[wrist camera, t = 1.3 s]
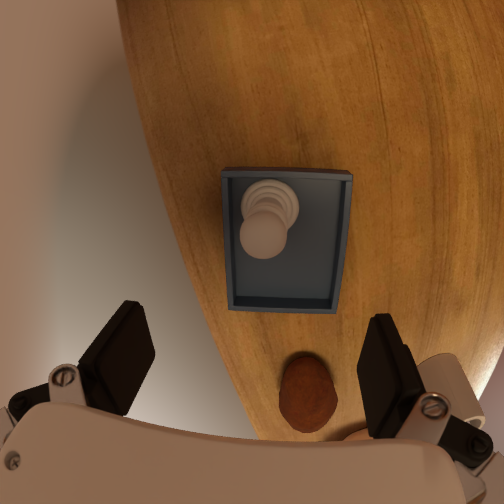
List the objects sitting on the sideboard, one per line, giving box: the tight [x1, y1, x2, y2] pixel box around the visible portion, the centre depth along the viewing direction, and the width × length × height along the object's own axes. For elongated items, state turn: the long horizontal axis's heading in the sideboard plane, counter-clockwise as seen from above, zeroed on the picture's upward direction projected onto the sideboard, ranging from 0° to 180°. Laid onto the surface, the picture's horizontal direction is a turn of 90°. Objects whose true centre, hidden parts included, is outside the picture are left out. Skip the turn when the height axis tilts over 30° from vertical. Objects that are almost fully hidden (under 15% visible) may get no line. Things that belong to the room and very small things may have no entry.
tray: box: [221, 167, 353, 314], centre depth 28 cm, size 14×11×2 cm
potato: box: [279, 357, 338, 433], centre depth 33 cm, size 8×12×8 cm, turn 11°
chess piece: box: [240, 179, 299, 259], centre depth 23 cm, size 5×5×9 cm
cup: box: [417, 353, 485, 429], centre depth 30 cm, size 9×9×12 cm
